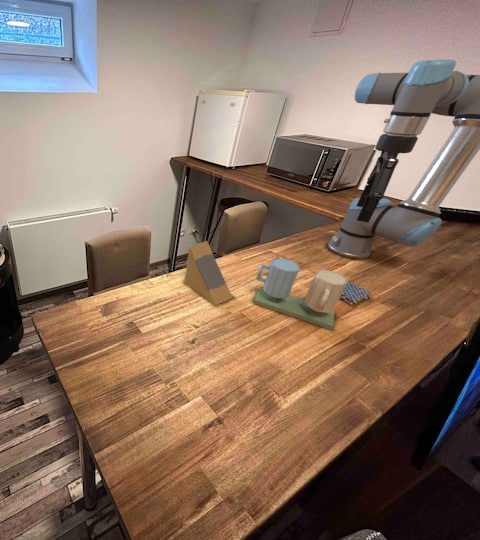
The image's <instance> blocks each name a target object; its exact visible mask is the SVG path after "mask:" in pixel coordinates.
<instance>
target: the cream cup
mask: <svg viewBox="0 0 480 540" xmlns="http://www.w3.org/2000/svg"><path fill="white" fill-rule="evenodd" d="M347 282H348V278H346V277H345V276H344V275H343V274H341V273H339V272H336V271H332V270H329V269H319V270H317V271H316V272H315V274H314V277H313V279H312V281H311V284H310V286H309V288H308V290H307V292H306V295H305V296H304V299H303V300H304V302H305V303H306V305H307V306H308V307H310V308H312V309H314V310H316V311H319V312H326V313H328V312H331V311H333V310H334V309H335V308H336V306H337V304H338V302H339V300H340V299H341V298H340V296H341V294H342V292H343V291H344V289H345V287H346V285H347Z"/></svg>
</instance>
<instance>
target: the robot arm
mask: <svg viewBox="0 0 480 540" xmlns="http://www.w3.org/2000/svg"><path fill="white" fill-rule="evenodd" d="M456 65H457V61H456V60H455V59H425V60H423V59H422V60H417V61H416V62H415V63H413V64H412V66H411V68H410V69H409V71H408V72H376V73H368V74H366V75H364V76H363V77H362V78H361V80H360V81H359V82H358V84H357V85H356V89H355V91H354V101H355V102H356V104H357V103H358V104H362V105H363V104H364V105H381V106H393V107H392V110H391V111H390V113H389V116H388V118H385V119H383V124H385V125H384V127H383V130H382V132H383V133H382V134H381V135H379V138H378V140H377V142H376V145H375V147H374V149H375V150H376V151H378V152H380V155H379V156H378V157H377V159H376V162H375V165H374V167H373V168H372V170H371V172H370V174H369V176H368V177H367V181H366V184H365V186H364V188H363V190H362V193H361V195H360V196H359V197H357V198H354V199H353V200H352V202H351V204H350V205H349V206H348V208H347V212H346V214H345V216H344V218H343V220H342V224H340V225H341V226H340V228H339V229H338V231H337V232H336V233H335V234H334V235H333V236H332V237H331V239H329V241H328V242H327V244H326V245H327V246H326V247H327V249H328V250H329V251H331V252H332V253H333V254H336V255H338V256H341V257H344V258H348V259H354V260H364V259H368V258H369V257H370V256H371V254H372V250H373V249H372V247H373V238H374V237H375V236H377V237H380V238H383V239H385V240H388V241H392V242H395V243H397V244H398V245H404V246H407V247H412V248H413V247H417V246H419V245H422V244H423V243H425V242H426V241H427V240H428V239H429V238H431V236H432V235H433V234H435V232H436V231H437V230H438V229H439V227H440V226H441V224H442V223H443V220H442V219H441V218H440V215H441V214H442V212H441V210H440V206H441V204H442V203H443V201H444V200H445V198H446V197H447V196H448V194H449V193H450V192H451V190H452V189H453V188H454V186H455V185H456V184H457V182H458V181H459V179H460V177H461V176H462V175H463V173H464V172H465V170H467V168H468V166H469V165H470V164H471V162H472V161H473V159H474V158H475V157H476V155H477V154H478V153H479V151H480V74H465V73H463V72H461V71H459V70H454V69H455V67H456ZM432 114H433V115H438V116H443V117H454V118H453V119H452V125H453V130H452V131H451V133H450V134H449V136H448V137H447V138H446V140H445V141H444V144H443V145H442V146H441V148H440V149H439V150H438V152H437V154H436V155H435V157H434V158H433V160H432V162H430V164H429V166H428V168H426V171H425V172H424V173H423V175H422V177H421V178H420V180H419V181H418V183H417V184H416V186H415V187H414V189H413V190H412V191H411V193H410V194H409V197H408V198H407V199H405V200H401V201H399V202H398V204H397V205H396V206H394V205H392V200H391V199H389V198H384V196H385V194H386V191H387V188H388V186H389V184H390V182H391V178H392V176H393V174H394V172H395V169H396V168H397V165H398V163H399V162H400V159H398V156H399V154H409V153H411V152H412V151H413V150H414V148H415V146H416V144H417V142H418V140H419V138H418V136H419V135H421V134H422V133H423V131H424V129H425V127H426V125H427V124H428V121H429V119H430V118H431V115H432Z"/></svg>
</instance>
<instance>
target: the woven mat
mask: <svg viewBox="0 0 480 540" xmlns="http://www.w3.org/2000/svg"><path fill="white" fill-rule="evenodd" d="M371 295H372V293H371V292H370V291H369V290H365V288H362V287H360V285H356V284H355V283H352V282H351V281H350V280H347V285H346V287H345V289H344V291H343V292H342V294H341V296H340V298H339V299H341V300H343V301H344V302H345V303H347V304H348V305H350V306H353V305H354V304H358V302H361V301H363V300H368V299H369V298H371Z"/></svg>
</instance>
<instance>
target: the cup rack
mask: <svg viewBox="0 0 480 540" xmlns="http://www.w3.org/2000/svg"><path fill="white" fill-rule="evenodd" d="M263 287H264V286H259V288H258V291H257V293H256V294H255V297H254V299H253V304H254V305H255V304H256V305H257V306H262V307H264V308H267V309H270V310H273V311H275V312H279V313H282V314H283V315H287V316H289V317H293V318H295V319H299V320H301V321H304V322H307V323H310V324H313V325H316V326H319V327H322V328H324V329H328V330H331V331H332V330H333V328H334V323H335V312H336V309H335V308H334V310H333V311H331V312H328V313H326V312H319V311H316V310H314V309H312V308H310V307H308V306H307V305H306V303H305V302H304V300H305V299H303V298H300V297H296V296H293V295H290V294H289V296H288V297H286V298H276V297H273V296H271V295H268V294H267V293H266V292H265V291H264V289H263Z"/></svg>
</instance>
